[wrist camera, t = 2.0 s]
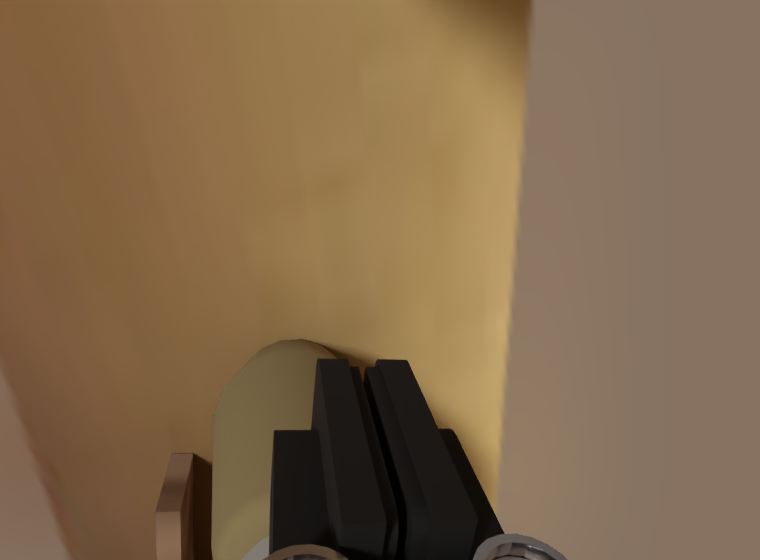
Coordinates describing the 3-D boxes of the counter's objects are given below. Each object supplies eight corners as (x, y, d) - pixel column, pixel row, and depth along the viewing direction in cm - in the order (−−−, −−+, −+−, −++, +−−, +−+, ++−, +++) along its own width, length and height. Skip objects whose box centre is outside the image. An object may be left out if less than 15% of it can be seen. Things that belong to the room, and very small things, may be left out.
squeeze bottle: (374, 421, 33) (469, 775, 17) (242, 455, 32) (205, 862, 16) (347, 304, 30) (432, 597, 13) (201, 339, 29) (99, 696, 13)
